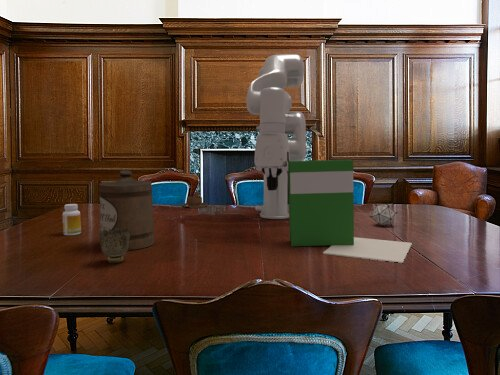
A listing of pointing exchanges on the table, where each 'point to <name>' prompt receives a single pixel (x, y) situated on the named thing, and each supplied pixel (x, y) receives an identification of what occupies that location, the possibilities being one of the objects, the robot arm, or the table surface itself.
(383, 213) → the game die
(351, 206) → the hardback book
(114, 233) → the cup
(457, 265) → the table surface
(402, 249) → the desk pad
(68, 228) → the supplement bottle
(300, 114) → the robot arm
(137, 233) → the wooden container
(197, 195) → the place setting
